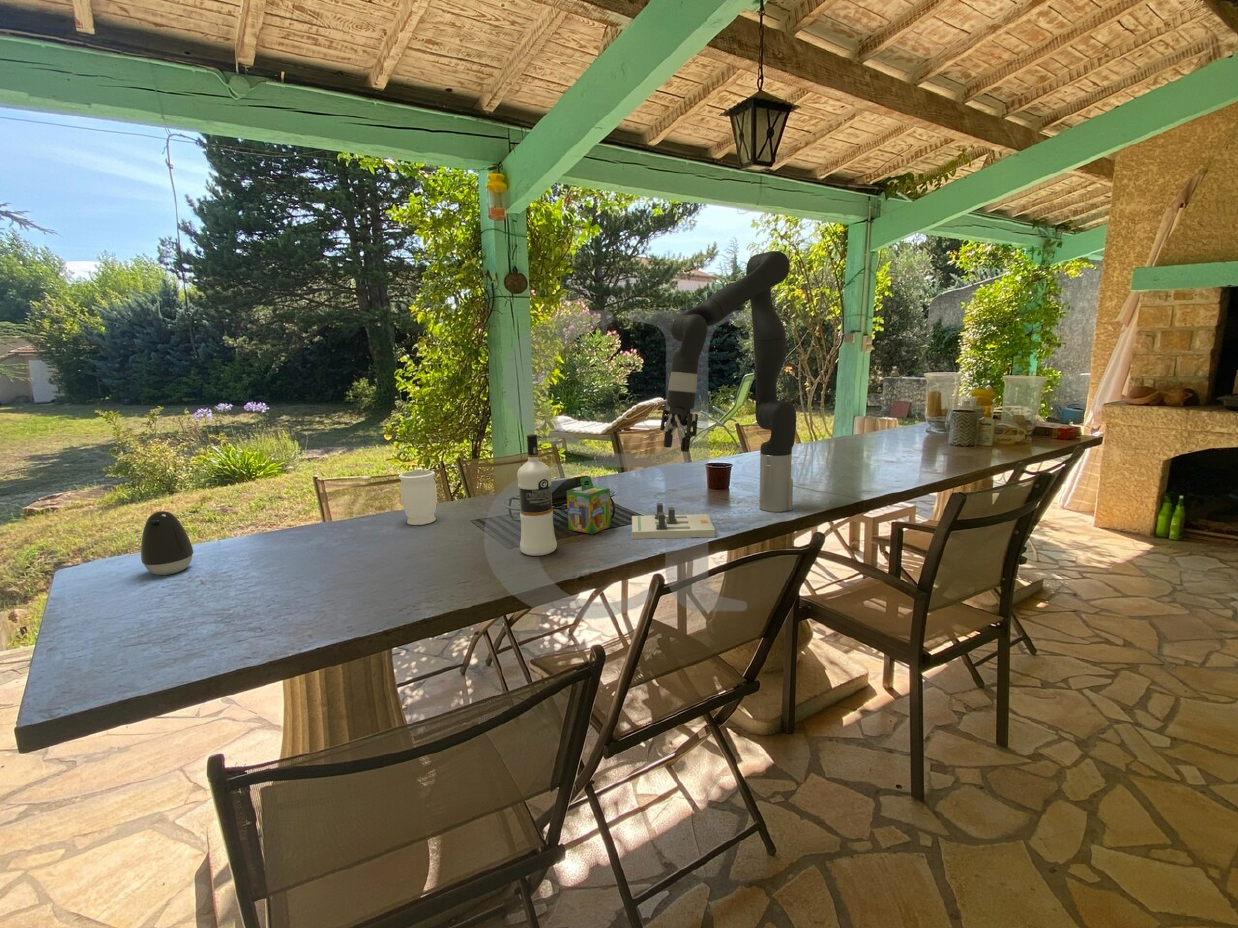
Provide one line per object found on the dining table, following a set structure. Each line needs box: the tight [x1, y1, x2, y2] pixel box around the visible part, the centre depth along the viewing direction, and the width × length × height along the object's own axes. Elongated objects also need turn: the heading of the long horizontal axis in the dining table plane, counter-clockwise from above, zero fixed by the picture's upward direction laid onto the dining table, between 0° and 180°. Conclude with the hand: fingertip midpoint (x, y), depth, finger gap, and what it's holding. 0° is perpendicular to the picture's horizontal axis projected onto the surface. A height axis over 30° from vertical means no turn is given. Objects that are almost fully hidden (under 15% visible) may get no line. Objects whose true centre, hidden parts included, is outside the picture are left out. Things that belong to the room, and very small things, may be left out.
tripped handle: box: [666, 506, 677, 523], centre depth 168 cm, size 3×3×4 cm
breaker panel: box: [631, 513, 716, 540], centre depth 169 cm, size 22×15×2 cm
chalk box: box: [566, 475, 612, 535], centre depth 171 cm, size 9×9×15 cm
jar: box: [398, 469, 438, 526], centre depth 183 cm, size 11×10×15 cm
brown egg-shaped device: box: [140, 510, 194, 576], centre depth 147 cm, size 10×10×15 cm
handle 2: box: [656, 512, 667, 529], centre depth 164 cm, size 3×3×4 cm
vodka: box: [516, 433, 558, 557], centre depth 152 cm, size 9×9×30 cm
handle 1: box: [654, 502, 664, 518], centre depth 173 cm, size 3×3×4 cm
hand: (675, 449), depth 166 cm, fingers open, 8 cm apart
